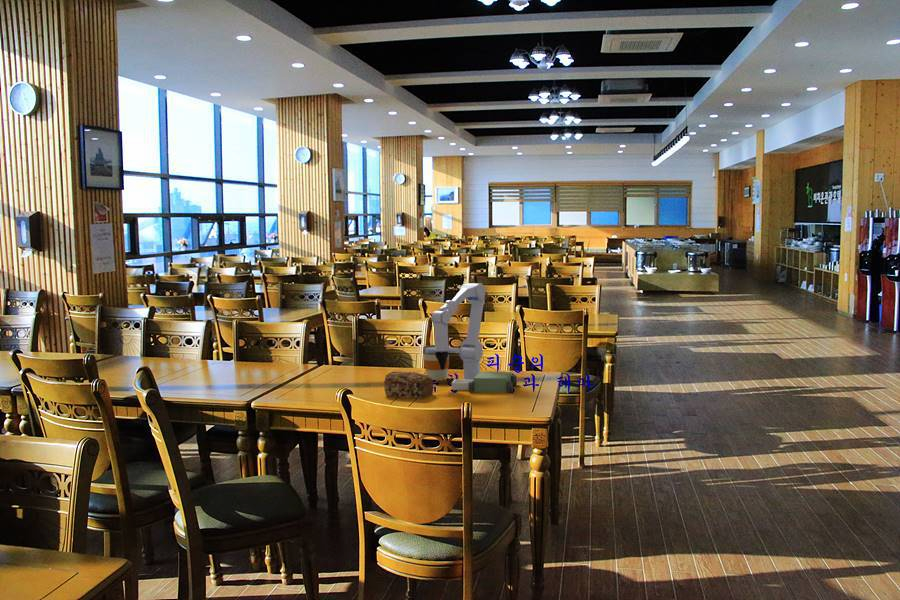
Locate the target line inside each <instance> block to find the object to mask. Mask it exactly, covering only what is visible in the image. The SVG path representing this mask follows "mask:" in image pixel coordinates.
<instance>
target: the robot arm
mask: <svg viewBox="0 0 900 600" xmlns="http://www.w3.org/2000/svg"><path fill="white" fill-rule="evenodd" d="M486 292H487V290H486V288H485V285H484V284H483V283H471V282H469V283H468V282H467V283H466V282H464V283H463V284H462V285H461V286H460V287H459V291H458V292H457V293H456V295H455V296H454V297H453V298H452V299H451V300H450V299H449V300H446V301H445V303H444V304H443V305H442V306H440V308H439V309H438V310H435V311H433V312H432V314H431V317H430V319H431V322H432V326H433V328H434V345H435V348H426V349H425V353H436V354H435V356H436V358H437V360H438V362H439V364H440V368H441V370H444V369H445V364H446V361H447V358H448V355H450V353H451V354H452V353H453V354H454V353H455V354H459V355H458V356H459V357H460V358H461V361H462V362H463V364H462V365H463V379H462V380H474V377H475V375H477V374H478V373H479V372H481V363H480V361H481V359H483V354H484V350H483V344H482V342H481V341H480V340H479V339H480V338H479V337H480V331H481V324H482V318H483V310H484V304H485V299H486ZM465 300H466V301H467V302H469V303H470V305H471V306H470V314H469V321H468V326H467V333H466V338H465V339H464V340H462V342H461V345H460V347H450V345H449V329H448V324H449V323H450V321H451V318H452V316H453V315H454V314H455V313H456V312H457V310H458V309H459V307H458V306H459V305H460V304H461V303H463V302H464V301H465Z"/></svg>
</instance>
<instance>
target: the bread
mask: <svg viewBox="0 0 900 600" xmlns="http://www.w3.org/2000/svg"><path fill="white" fill-rule="evenodd" d="M383 381H384V382H383V387H384V393H385V396H387V395H390V396H392V397H394V396H397V397H396V398H402V397H405V398H404V399H418V400H419V399H426V397H430V396H433V394H434V393H433V392H434V381H433V380H432V379H431V377H429V376H428V375H427V374H422V373H419V372H415V371H396V370H395V371H391V372H389V373H387V374H386V375H385V376H384V380H383Z"/></svg>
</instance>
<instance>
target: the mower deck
mask: <svg viewBox="0 0 900 600" xmlns="http://www.w3.org/2000/svg"><path fill="white" fill-rule="evenodd" d="M516 385H517V386H518V376H517V375H515V374H512V371H480V372H479V373H478V374H477V375H475V377H474V381H469V386H468V388H469V390H468V392H469V393H506V392H507V393H513V390H514V387H517V386H516Z"/></svg>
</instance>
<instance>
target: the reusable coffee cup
mask: <svg viewBox="0 0 900 600" xmlns="http://www.w3.org/2000/svg"><path fill="white" fill-rule="evenodd" d="M426 348H435V344H430V345H428V344H427V345H425V346H423V347H422V354H423V363H424V370H425V371H426V375H428V376H429V377H431V379H432V380H439V381H442V380H441V379H445V378H447V379H448V372H449V371H448V369H449V367H450V356H449V355H450V354H449V355H448V358H447V361H446V364H445V369H444V370H441V368H440V364H439V362H438V360H437V358H436V356H435V354H436V353H425V349H426ZM445 380H446V379H445Z"/></svg>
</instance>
